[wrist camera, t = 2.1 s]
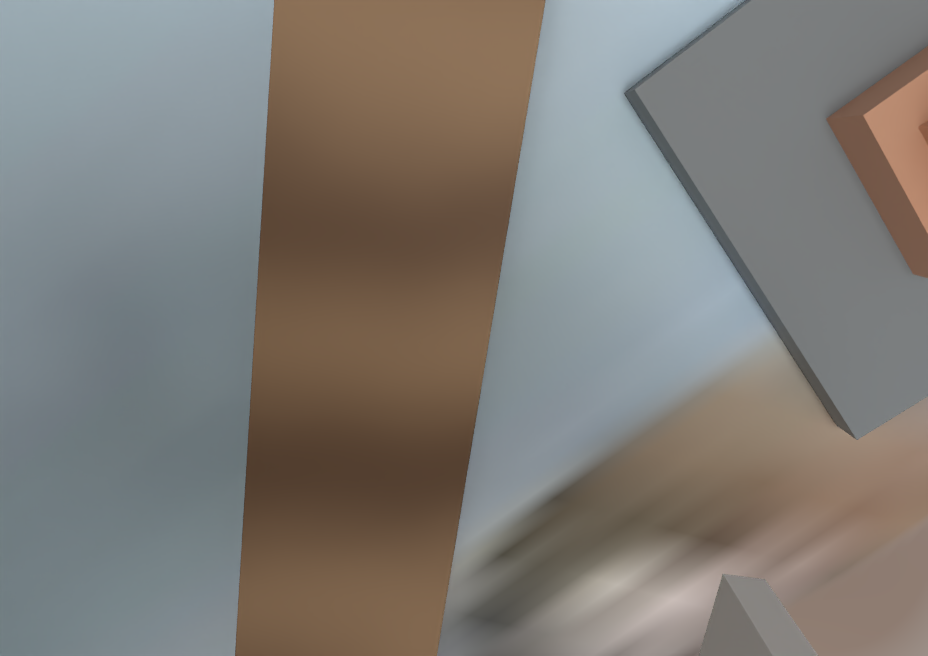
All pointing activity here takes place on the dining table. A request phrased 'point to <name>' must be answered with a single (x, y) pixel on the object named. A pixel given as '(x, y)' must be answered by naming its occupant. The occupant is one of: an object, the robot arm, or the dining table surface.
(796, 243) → the fulcrum
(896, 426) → the dining table surface
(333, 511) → the bar
